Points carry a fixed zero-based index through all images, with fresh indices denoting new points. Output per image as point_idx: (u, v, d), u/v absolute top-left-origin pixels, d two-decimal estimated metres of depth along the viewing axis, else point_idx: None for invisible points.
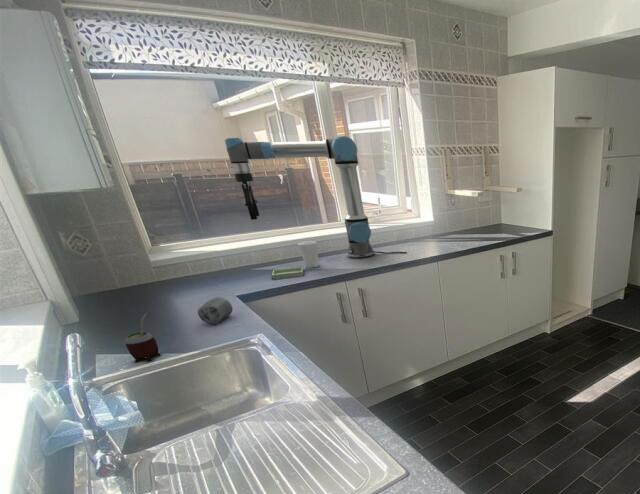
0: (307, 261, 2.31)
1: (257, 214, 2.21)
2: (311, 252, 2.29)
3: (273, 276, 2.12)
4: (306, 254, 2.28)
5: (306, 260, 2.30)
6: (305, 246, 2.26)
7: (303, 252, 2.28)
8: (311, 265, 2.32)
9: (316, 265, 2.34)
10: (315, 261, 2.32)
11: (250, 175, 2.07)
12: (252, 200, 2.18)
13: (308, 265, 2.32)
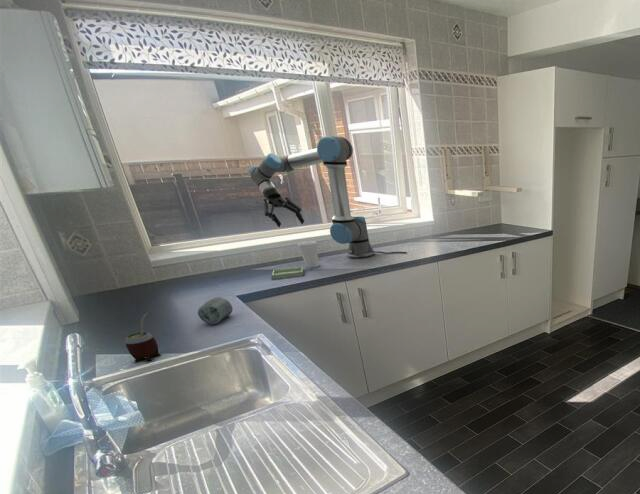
0: (307, 261, 2.31)
1: (301, 220, 2.35)
2: (311, 252, 2.29)
3: (273, 276, 2.12)
4: (306, 254, 2.28)
5: (306, 260, 2.30)
6: (305, 246, 2.26)
7: (303, 252, 2.28)
8: (311, 265, 2.32)
9: (316, 265, 2.34)
10: (315, 261, 2.32)
11: (269, 190, 2.28)
12: (294, 210, 2.36)
13: (308, 265, 2.32)
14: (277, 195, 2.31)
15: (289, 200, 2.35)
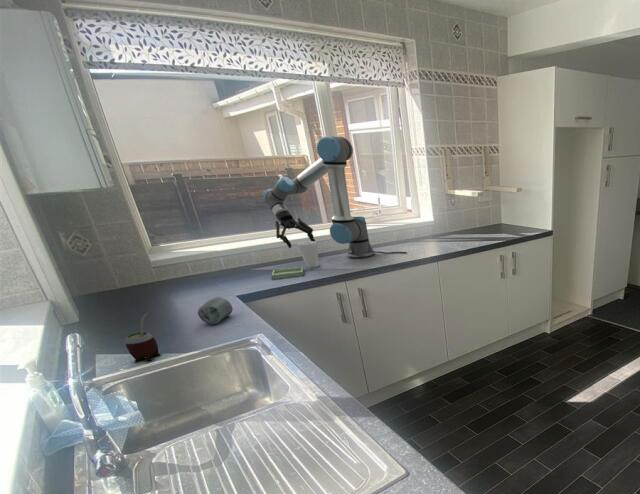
0: (307, 261, 2.31)
1: (313, 240, 2.38)
2: (311, 252, 2.29)
3: (273, 276, 2.12)
4: (306, 254, 2.28)
5: (306, 260, 2.30)
6: (305, 246, 2.26)
7: (303, 252, 2.28)
8: (311, 265, 2.32)
9: (316, 265, 2.34)
10: (315, 261, 2.32)
11: (281, 212, 2.32)
12: (306, 231, 2.39)
13: (308, 265, 2.32)
14: (289, 217, 2.35)
15: (301, 221, 2.39)
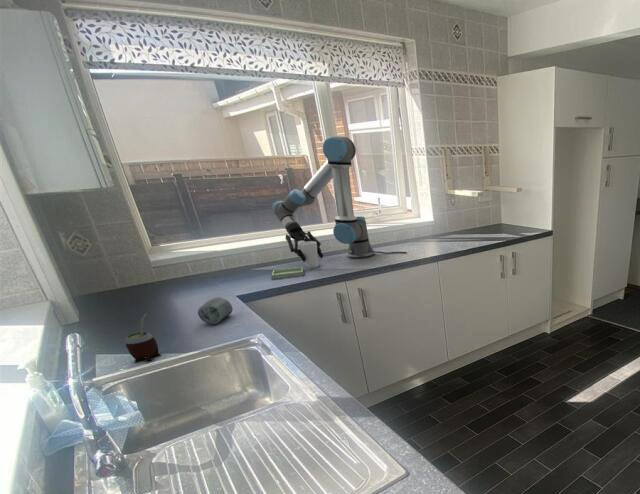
0: (307, 261, 2.31)
1: (320, 255, 2.34)
2: (311, 252, 2.29)
3: (273, 276, 2.12)
4: (306, 254, 2.28)
5: (306, 260, 2.30)
6: (305, 246, 2.26)
7: (303, 252, 2.28)
8: (311, 265, 2.32)
9: (316, 265, 2.34)
10: (315, 261, 2.32)
11: (291, 225, 2.30)
12: None
13: (308, 265, 2.32)
14: (299, 229, 2.33)
15: (311, 234, 2.36)
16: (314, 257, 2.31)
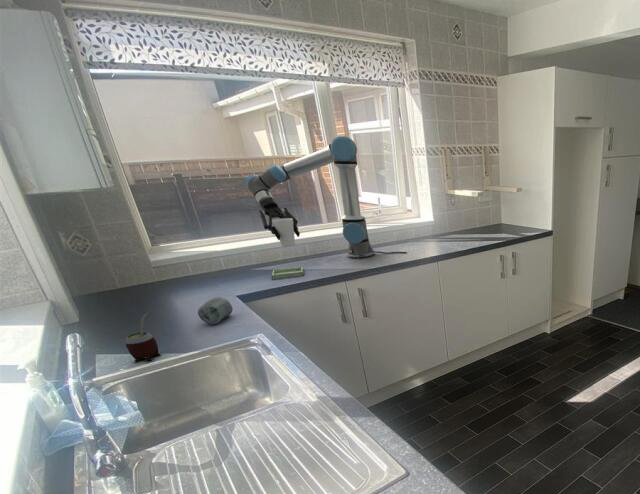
0: (282, 239, 2.14)
1: (297, 233, 2.17)
2: (286, 229, 2.12)
3: (273, 276, 2.12)
4: (281, 232, 2.12)
5: (281, 238, 2.14)
6: (279, 223, 2.09)
7: (278, 229, 2.11)
8: (287, 244, 2.15)
9: (292, 244, 2.17)
10: (291, 239, 2.15)
11: (265, 200, 2.13)
12: None
13: (283, 244, 2.15)
14: (274, 205, 2.16)
15: (287, 211, 2.20)
16: (290, 235, 2.14)
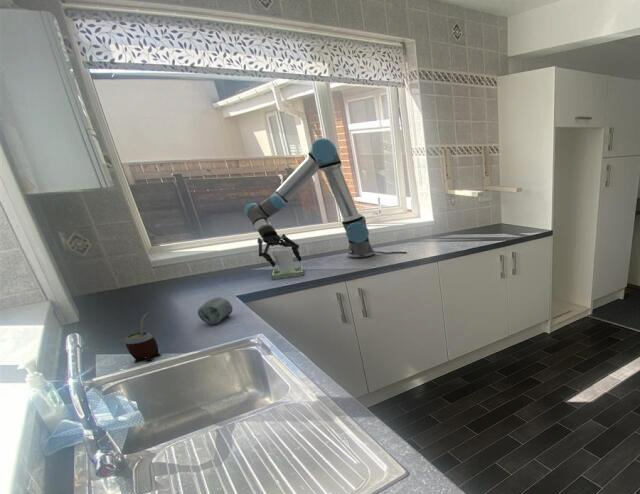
0: (282, 268, 2.15)
1: (299, 258, 2.20)
2: (286, 258, 2.13)
3: (273, 276, 2.12)
4: (281, 261, 2.13)
5: (280, 267, 2.15)
6: (279, 252, 2.11)
7: (277, 258, 2.13)
8: (286, 272, 2.17)
9: (292, 272, 2.18)
10: (290, 268, 2.17)
11: (264, 228, 2.14)
12: None
13: (283, 272, 2.17)
14: (273, 233, 2.17)
15: (286, 237, 2.21)
16: (289, 264, 2.16)
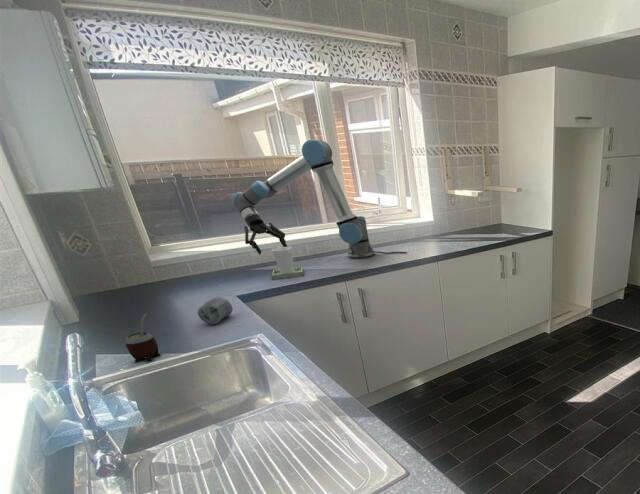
0: (282, 268, 2.15)
1: (285, 245, 2.25)
2: (286, 258, 2.13)
3: (273, 276, 2.12)
4: (281, 261, 2.13)
5: (280, 267, 2.15)
6: (279, 252, 2.11)
7: (277, 258, 2.13)
8: (286, 272, 2.17)
9: (292, 272, 2.18)
10: (290, 268, 2.17)
11: (250, 216, 2.20)
12: (278, 236, 2.26)
13: (283, 272, 2.17)
14: (259, 221, 2.22)
15: (272, 225, 2.26)
16: (289, 264, 2.16)
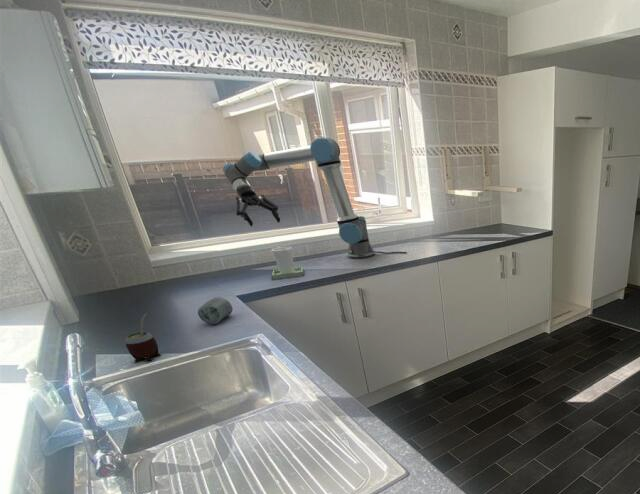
0: (282, 268, 2.15)
1: (277, 218, 2.19)
2: (286, 258, 2.13)
3: (273, 276, 2.12)
4: (281, 261, 2.13)
5: (280, 267, 2.15)
6: (279, 252, 2.11)
7: (277, 258, 2.13)
8: (286, 272, 2.17)
9: (292, 272, 2.18)
10: (290, 268, 2.17)
11: (242, 188, 2.13)
12: (270, 208, 2.20)
13: (283, 272, 2.17)
14: (251, 193, 2.16)
15: (265, 198, 2.20)
16: (289, 264, 2.16)
